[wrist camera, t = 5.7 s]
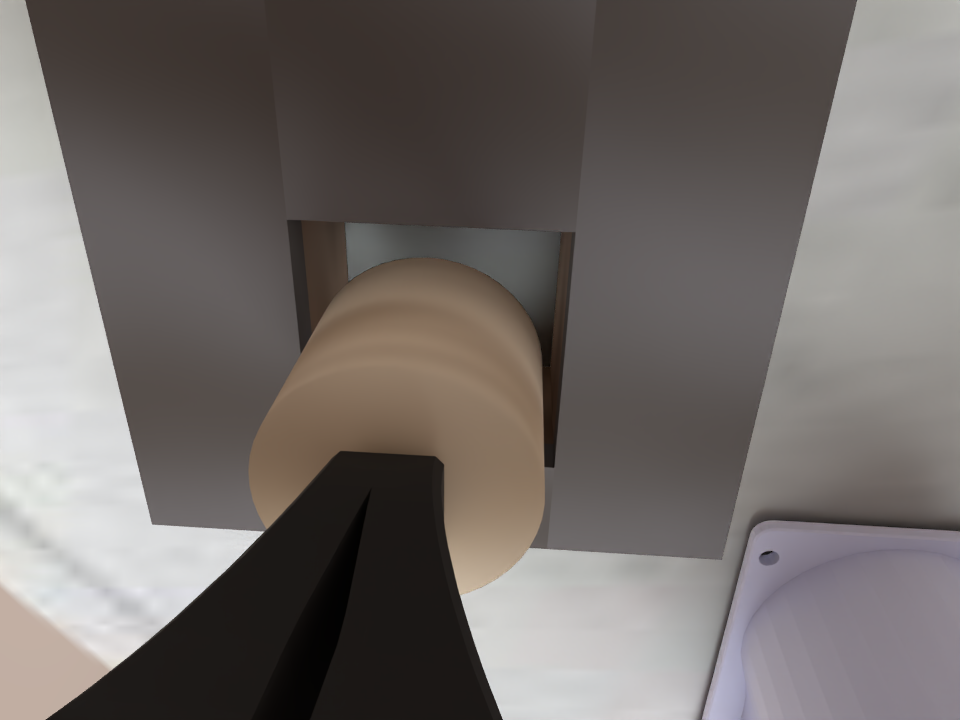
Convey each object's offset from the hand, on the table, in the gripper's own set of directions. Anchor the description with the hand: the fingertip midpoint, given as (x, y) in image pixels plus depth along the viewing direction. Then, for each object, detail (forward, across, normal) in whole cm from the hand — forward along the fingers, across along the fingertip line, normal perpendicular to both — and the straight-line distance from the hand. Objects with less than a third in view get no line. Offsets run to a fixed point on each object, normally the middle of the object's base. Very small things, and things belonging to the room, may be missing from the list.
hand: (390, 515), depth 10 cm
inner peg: (+4, 0, 0) cm, 4 cm away
